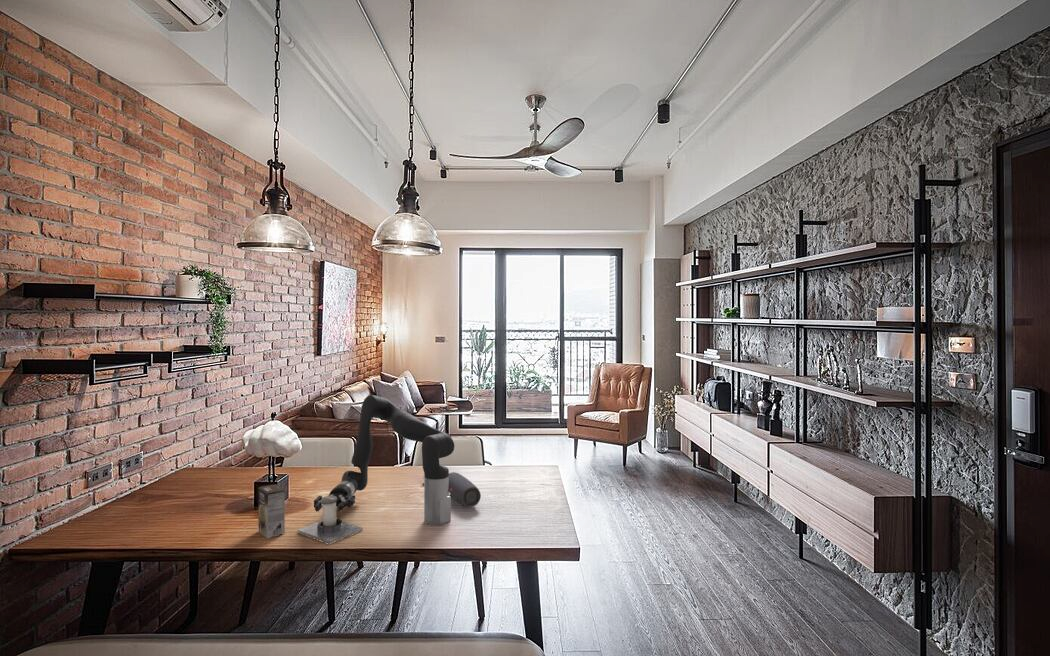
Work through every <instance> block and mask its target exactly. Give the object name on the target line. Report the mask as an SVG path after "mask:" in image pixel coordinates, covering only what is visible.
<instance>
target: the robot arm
mask: <svg viewBox="0 0 1050 656" xmlns="http://www.w3.org/2000/svg"><path fill="white" fill-rule="evenodd" d="M373 418H375V419H380V420H383V421H385V422H387V423H389V424H390V425H391V429H392V431H394V432H395V434H398V435H399V436H401V437H402V438H404V439H406V440H410V441H412V442H413V441H414V442H418V443H421V461H422V470H423V474H424V476H423V477H424V480H423V481H424V482H423V483H424V484H423V485H424V486H423V487H424V488H423V491H424V494H423V497H424V500H423V501H424V503H423V507H424V509H423V511H424V514H423V515H424V516H423V519H424V521H423V522H424V523H425V524H426V525H428V526H439V527H440V526H442V525H444V524H447V523H449V522H451V518H452V517H451V516H452V515H451V514H452V513H451V511H452V510H451V509H452V508H451V506H452V500H451V499H452V497H451V496H452V495H451V496H450V493H449V473H450V470H449V468H448V467H446V466H444V465H440V459H443V458H446V457H448V456H450V455H452V453H454V451H455V442H454V440H453V438H452V437H451V436H450V435H449V434H448V433H447V432H444V431H442V430H439V429H437V428H434V427H433V426H431V425H429V424H427V423H426V422H424V421H422V420H421V419H418V418H417V417H416V416H414V415H413V414H410V413H409V412H407V411H405V410H403V409H401V408H399V407H398V406H397V405H395V404H394V403H393V402H391V401H390V400H389V399H387V398H386V397H382V396H378V395H374V394H370V395H367V396H366V397H365V398H364V400H363V401H362V405H361V409H360V416H359V422H358V423H359V424H358V430H357V431H358V432H357V439H356V443H355V447H354V450H353V454H352V457H351V464H352V465H353V466H355V467H357V468H359V470H360V471H359V472H358V471H354V470H346V471H344V473H343V474H342V478H341V479H340V480H341V482H339V483H338V484H337V485H335V486H334V487H333V488H332V490H330V492H329V494H328V496H336V497H337V501H336V508H337V512H342V511H343V510H344V509H346V508H352V507H353V505H354V504H355V503H356V495H354V494H355V493H356V492H357V491H363V490H365V488H366V487H367V485H368V480H369V479H368V475H369V474H368V469H369V462H370V459H371V455H372V452H373V439H372V434H371V433H372V432H371V422H372V419H373ZM322 498H323V496H322V495H319V496H317V497H316V498H315V499H314V500H313V508H314V511H315V512H320V510H321V509H322V503H321V499H322Z"/></svg>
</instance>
